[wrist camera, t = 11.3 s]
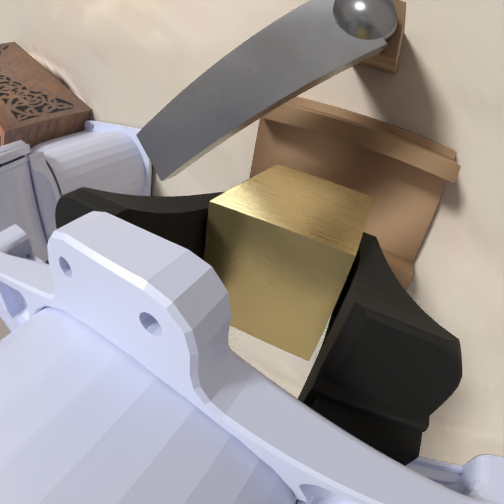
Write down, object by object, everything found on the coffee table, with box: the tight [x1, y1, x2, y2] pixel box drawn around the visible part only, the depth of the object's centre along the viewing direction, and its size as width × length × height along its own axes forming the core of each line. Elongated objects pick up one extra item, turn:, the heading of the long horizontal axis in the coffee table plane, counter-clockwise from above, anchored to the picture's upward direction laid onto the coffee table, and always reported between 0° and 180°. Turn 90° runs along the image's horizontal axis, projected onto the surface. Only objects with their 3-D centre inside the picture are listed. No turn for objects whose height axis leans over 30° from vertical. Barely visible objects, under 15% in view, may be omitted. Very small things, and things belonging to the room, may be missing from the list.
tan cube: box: [203, 164, 373, 361], centre depth 11 cm, size 4×4×5 cm
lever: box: [136, 0, 397, 181], centre depth 12 cm, size 3×14×1 cm, turn 123°
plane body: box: [249, 0, 460, 290], centre depth 15 cm, size 12×15×6 cm
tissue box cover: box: [0, 42, 92, 149], centre depth 26 cm, size 26×14×10 cm, turn 57°
